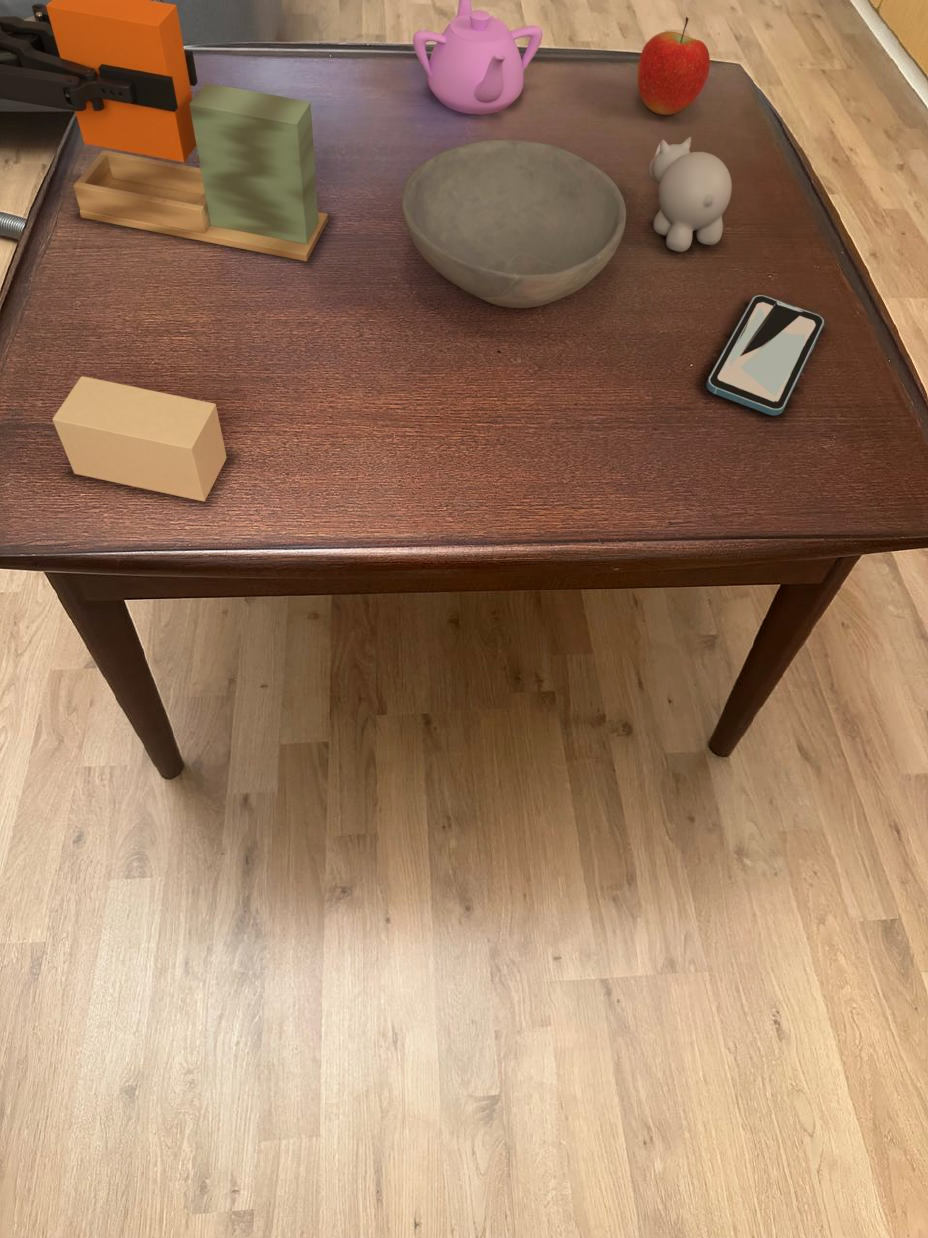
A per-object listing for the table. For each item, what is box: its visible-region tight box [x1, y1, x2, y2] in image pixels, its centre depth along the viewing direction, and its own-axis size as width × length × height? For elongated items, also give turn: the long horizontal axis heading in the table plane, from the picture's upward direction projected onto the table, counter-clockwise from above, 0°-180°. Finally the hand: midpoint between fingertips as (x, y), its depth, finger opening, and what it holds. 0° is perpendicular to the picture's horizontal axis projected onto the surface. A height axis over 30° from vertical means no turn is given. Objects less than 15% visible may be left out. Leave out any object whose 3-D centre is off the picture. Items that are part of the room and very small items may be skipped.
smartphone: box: [705, 294, 825, 416], centre depth 89 cm, size 7×1×15 cm
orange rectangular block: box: [45, 0, 197, 163], centre depth 85 cm, size 10×4×12 cm, turn 77°
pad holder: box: [72, 82, 329, 262], centre depth 90 cm, size 24×7×13 cm, turn 77°
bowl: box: [400, 139, 627, 309], centre depth 90 cm, size 21×21×8 cm
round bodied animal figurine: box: [647, 136, 733, 253], centre depth 97 cm, size 7×12×8 cm, turn 18°
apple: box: [636, 16, 711, 116], centre depth 109 cm, size 8×8×10 cm
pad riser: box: [52, 375, 227, 502], centre depth 74 cm, size 11×5×6 cm, turn 77°
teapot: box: [412, 0, 543, 115], centre depth 109 cm, size 12×14×9 cm
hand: (183, 81), depth 84 cm, fingers closed on orange rectangular block, 4 cm apart
